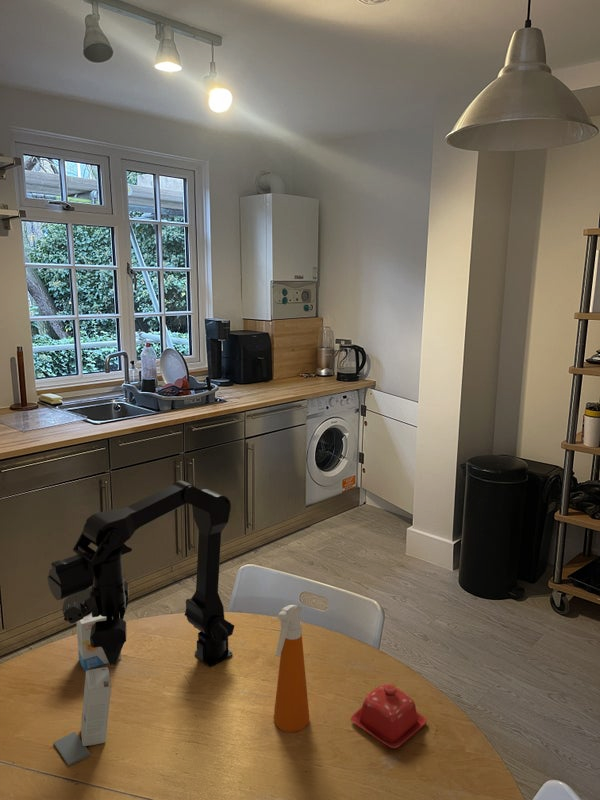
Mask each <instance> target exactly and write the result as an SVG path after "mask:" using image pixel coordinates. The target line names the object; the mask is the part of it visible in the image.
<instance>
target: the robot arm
mask: <svg viewBox="0 0 600 800" xmlns="http://www.w3.org/2000/svg"><path fill="white" fill-rule="evenodd" d="M187 504H188V505H191V507H192V516H193V517H192V518H193V520H194V522H195V524H196V527H197V530H198V543H197V544H198V545H197V561H196V562H197V563H196V565H197V566H196V581H195V592H194V594H193V595H192V597H191V598H187V599H185V611H184V617H186V619H187V622H188V623H190V624H191V625H192V626H193V627H194V628H195V629H197V630H198V631H199V632H197V640H196V651H194V656H196V657H197V658H198V659H199V660H201V661H202V662H203V663H205V665H206V666H208V667H213V666H215V665H216V664H219V663H221V662H223V661H225V660H227V659H229V658H231V657H232V656H233V651H231V650H230V649H229V637H230V636H232V635H233V634H234V629H235V624H233V623H231V622H229V621H228V620H227V619H225V618H226V617H225V608H224V605H223V602H222V599H221V597H220V594H219V581H220V579H219V578H220V562H221V542H222V532H223V530H224V529H225V527H226V526H227V525H228V523H229V520H230V516H231V509H232V502H231V500H230V499H229V498H228V497H227V496H225V495H222V494H220V493H218V492H216V491H213V490H211V489H208V488H203V489H200V488H197V487H196V486H195V485H194V484H191V483H189V482H187V481H184V480H177V481H175V482H174V483H173V482H172V485H169V486H168V487H166V488H163V489H161V490H159V491H157V492H155V493H153V494H151V495H149V496H147V497H145V498H143V499H140V500H138V501H136V502H134V503H133V504H130V505H128V506H125V507H122V508H114V509H106V510H103V511H100V512H96V513H94V514H92V515H90V516H88V518H87V519H85V523H84V525H83V529H82V532H81V534H80V536H79V537H78V539H77V541H76V543H75V545H74V547H73V548H72V552H73V553H75V555H72V556H70V557H67V558H64V559H60V560H56V561H53V562H51V563H50V564H51V565H50V567H51V569H49V571H48V575H47V584H48V587H49V589H50V592H51V594H52V596H53V598H54V599H55V600H56V601H60V600H63V599H64V601H63V604H62V607H61V610H62V614H63V616H64V617H63V620H64V621H65V622H68V623H69V624H75V623H76V622H77V621H79V620H81V619H83V618H84V617H85V616H87V615H89V614H91V613H92V617H99V615H101V616H103V617H107V618H106V620H105V621H98V622H96V623H95V624H94V625H93V626H92V627H91V634H90V643H91V647H93V648H96V647H102V649H103V651H104V653H105V655H106V657H107V660H108V662H109V663H108V664H109V666H113V665H114V666H115V665H116V664H117V662H118V661H119V660H118V657H119V655H120V652H121V653H122V650H123V646H124V645H125V643H126V642H127V632H128V631H127V621H125V620H124V618H125V614H126V610H127V608H128V604H129V595H130V594H129V593H130V591H129V589H130V587H129V583H128V582H127V581H125V574H124V570H123V568H124V567H123V558H122V556H124V555H125V554H128V553H130V552H132V551H133V548H132V547H130V546H129V545H127V544H126V542H128V541H129V540H130V539H131V538H132V536H133V535H134V534H135V532H136V531H138V530H139V529H140V528H142V527H144V526H146V525H148V524H150V523H152V522H153V521H156V520H158V519H159V518H162V517H163V516H165V515H167V514H169V513H171V512H173V511H175V510H177V509H179V508H181V507H183V506H184V505H187ZM91 544H92V545H94V546H95V547H96V548H97V549H95V550H96V551H95V550H94V549H93V548H91V547H90V546H89V545H91Z"/></svg>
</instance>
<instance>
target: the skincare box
mask: <svg viewBox="0 0 600 800" xmlns="http://www.w3.org/2000/svg"><path fill="white" fill-rule="evenodd" d="M111 694H112V684H111V674H110V671H109V667H108V666H106V667H98V668H91V669H88V670H85V681H84V691H83V700H82V709H81V710H82V712H81V723H80V733H81V741H82V745H83V746H86V747H87V746H94V745H95V746H96V745H100V744H105V743H106V741H107V734H108V733H107V731H108V723H109V713H110V703H111Z"/></svg>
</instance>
